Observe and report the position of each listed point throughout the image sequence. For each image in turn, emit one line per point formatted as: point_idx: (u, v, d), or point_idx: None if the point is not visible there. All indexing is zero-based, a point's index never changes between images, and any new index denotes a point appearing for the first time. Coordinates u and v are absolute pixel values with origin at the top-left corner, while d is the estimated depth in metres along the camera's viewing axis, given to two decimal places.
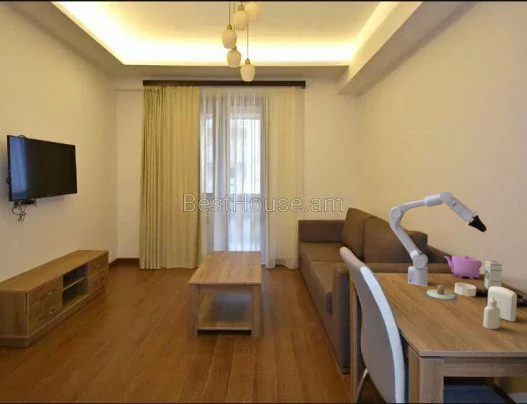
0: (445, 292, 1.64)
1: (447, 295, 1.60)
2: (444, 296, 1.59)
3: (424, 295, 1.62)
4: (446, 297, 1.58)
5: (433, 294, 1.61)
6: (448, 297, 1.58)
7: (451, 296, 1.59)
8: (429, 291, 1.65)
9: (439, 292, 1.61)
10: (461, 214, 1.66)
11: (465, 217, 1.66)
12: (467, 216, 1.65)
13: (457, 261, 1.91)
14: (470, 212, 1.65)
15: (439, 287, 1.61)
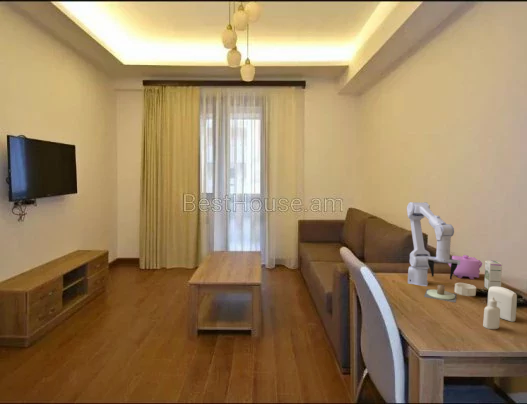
0: (445, 292, 1.64)
1: (447, 295, 1.60)
2: (444, 296, 1.59)
3: (424, 295, 1.62)
4: (446, 297, 1.58)
5: (433, 294, 1.61)
6: (448, 297, 1.58)
7: (451, 296, 1.59)
8: (429, 291, 1.65)
9: (439, 292, 1.61)
10: None
11: None
12: (436, 256, 1.62)
13: None
14: (438, 256, 1.60)
15: (439, 287, 1.61)
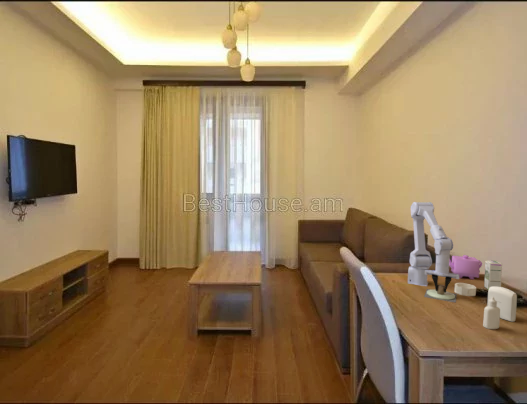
0: (445, 292, 1.64)
1: (447, 295, 1.60)
2: (444, 296, 1.59)
3: (424, 295, 1.62)
4: (446, 297, 1.58)
5: (433, 294, 1.61)
6: (448, 297, 1.58)
7: (451, 296, 1.59)
8: (429, 291, 1.65)
9: (439, 292, 1.61)
10: None
11: None
12: (435, 270, 1.63)
13: (457, 261, 1.91)
14: (437, 270, 1.61)
15: (439, 287, 1.61)
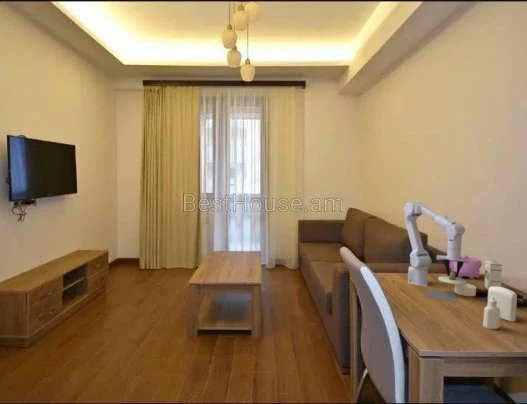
0: (457, 278, 1.65)
1: (459, 281, 1.61)
2: (456, 281, 1.60)
3: (424, 295, 1.62)
4: (458, 282, 1.59)
5: (444, 279, 1.62)
6: (460, 282, 1.59)
7: (463, 281, 1.60)
8: (441, 277, 1.67)
9: (451, 278, 1.62)
10: None
11: None
12: (447, 255, 1.64)
13: None
14: (448, 255, 1.62)
15: (451, 273, 1.62)
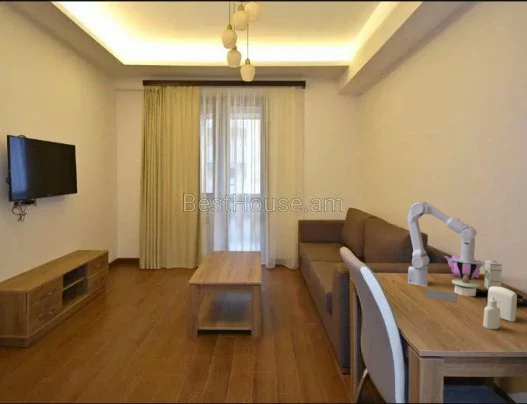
0: (470, 282, 1.67)
1: (472, 284, 1.63)
2: (469, 284, 1.62)
3: (424, 295, 1.62)
4: (471, 285, 1.61)
5: (458, 282, 1.65)
6: (473, 285, 1.61)
7: (476, 284, 1.62)
8: (454, 280, 1.69)
9: (464, 280, 1.65)
10: None
11: None
12: (460, 258, 1.67)
13: None
14: (462, 258, 1.64)
15: (464, 275, 1.65)
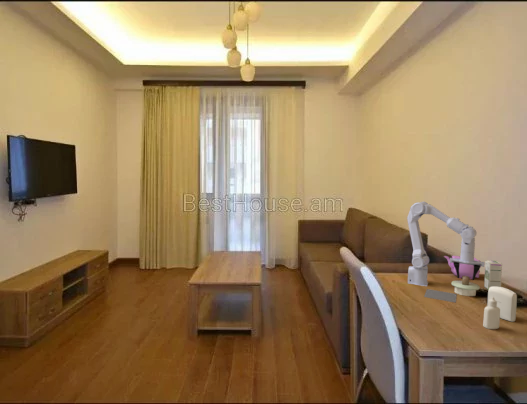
0: (470, 283, 1.68)
1: (472, 286, 1.63)
2: (469, 286, 1.62)
3: (424, 295, 1.62)
4: (471, 287, 1.61)
5: (458, 284, 1.65)
6: (473, 287, 1.61)
7: (476, 287, 1.62)
8: (454, 282, 1.69)
9: (464, 283, 1.65)
10: None
11: None
12: (460, 258, 1.67)
13: None
14: (462, 258, 1.64)
15: (464, 278, 1.65)
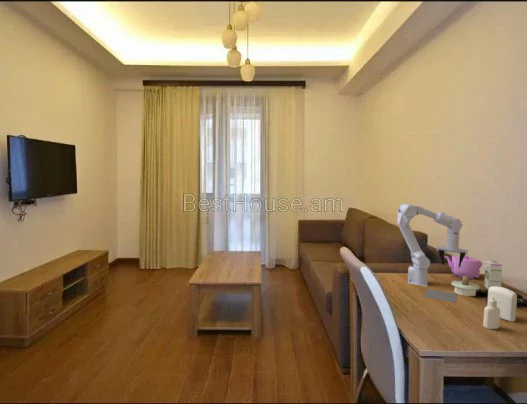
0: (470, 283, 1.68)
1: (472, 286, 1.63)
2: (469, 286, 1.62)
3: (424, 295, 1.62)
4: (471, 287, 1.61)
5: (458, 284, 1.65)
6: (473, 287, 1.61)
7: (476, 287, 1.62)
8: (454, 282, 1.69)
9: (464, 283, 1.65)
10: None
11: None
12: (446, 246, 1.80)
13: (457, 261, 1.91)
14: (447, 246, 1.78)
15: (464, 278, 1.65)
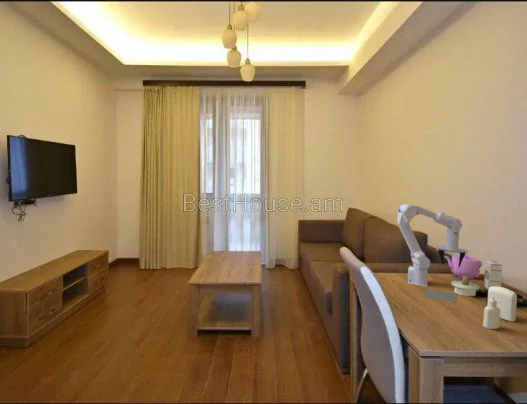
0: (470, 283, 1.68)
1: (472, 286, 1.63)
2: (469, 286, 1.62)
3: (424, 295, 1.62)
4: (471, 287, 1.61)
5: (458, 284, 1.65)
6: (473, 287, 1.61)
7: (476, 287, 1.62)
8: (454, 282, 1.69)
9: (464, 283, 1.65)
10: None
11: None
12: (446, 246, 1.80)
13: (457, 261, 1.91)
14: (447, 246, 1.78)
15: (464, 278, 1.65)
